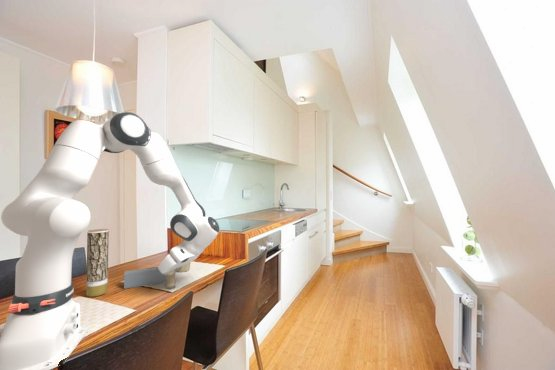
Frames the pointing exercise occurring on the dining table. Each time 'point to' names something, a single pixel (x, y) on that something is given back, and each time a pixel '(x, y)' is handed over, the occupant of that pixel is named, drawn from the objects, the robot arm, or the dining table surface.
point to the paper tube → (97, 262)
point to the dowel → (170, 280)
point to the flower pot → (184, 268)
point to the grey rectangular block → (143, 277)
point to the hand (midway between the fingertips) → (169, 271)
